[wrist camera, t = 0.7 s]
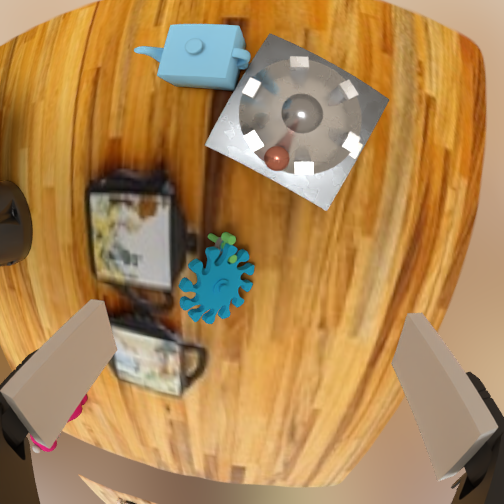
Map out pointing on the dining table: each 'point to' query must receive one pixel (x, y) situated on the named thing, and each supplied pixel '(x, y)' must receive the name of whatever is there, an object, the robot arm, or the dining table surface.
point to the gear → (217, 280)
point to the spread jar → (120, 503)
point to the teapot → (201, 56)
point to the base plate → (308, 186)
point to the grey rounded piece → (300, 116)
